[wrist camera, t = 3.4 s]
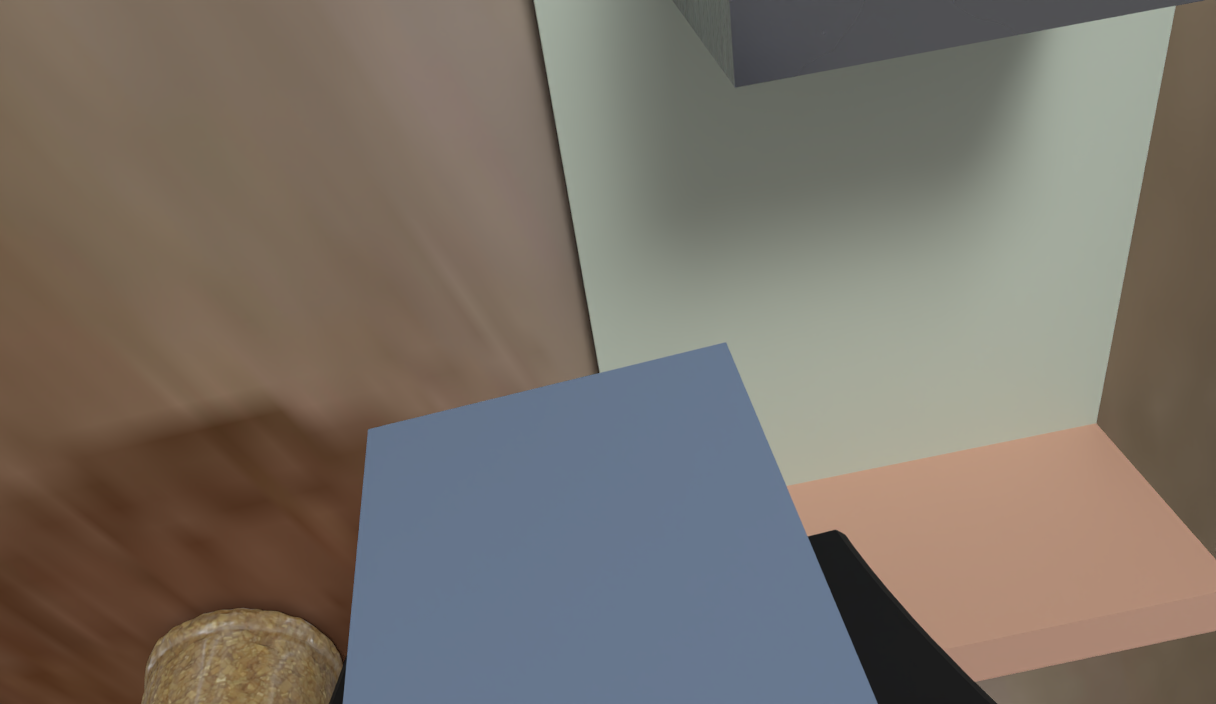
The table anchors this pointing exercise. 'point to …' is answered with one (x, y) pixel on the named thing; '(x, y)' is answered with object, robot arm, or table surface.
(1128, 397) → the table surface
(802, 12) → the grey toy block
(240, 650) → the sprinkles bottle
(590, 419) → the slate blue carton
